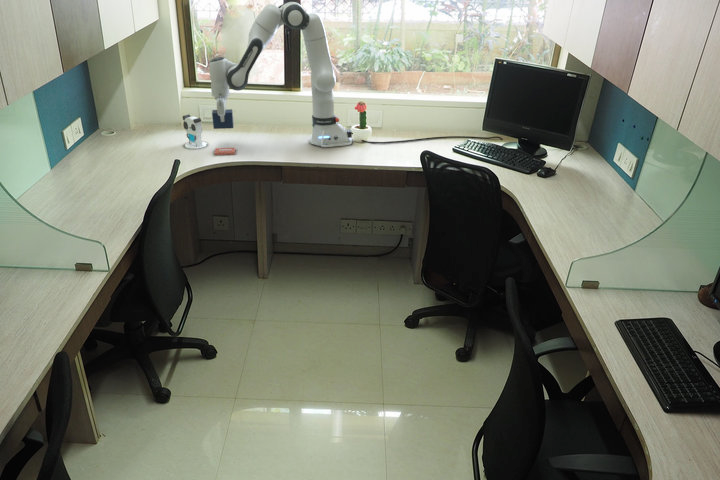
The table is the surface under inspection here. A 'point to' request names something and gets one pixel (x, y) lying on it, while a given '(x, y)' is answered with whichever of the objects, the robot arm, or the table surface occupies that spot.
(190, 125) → the panda figurine
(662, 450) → the table surface
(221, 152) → the tissue packet
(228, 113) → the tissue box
